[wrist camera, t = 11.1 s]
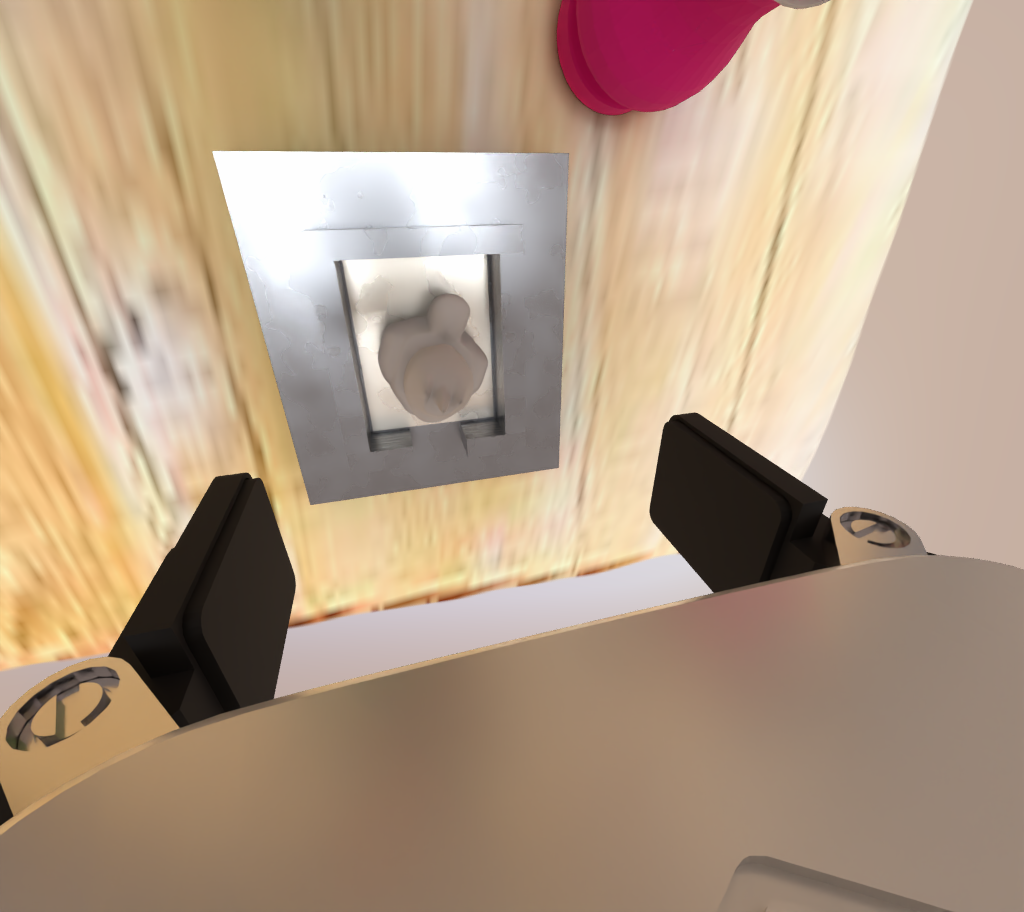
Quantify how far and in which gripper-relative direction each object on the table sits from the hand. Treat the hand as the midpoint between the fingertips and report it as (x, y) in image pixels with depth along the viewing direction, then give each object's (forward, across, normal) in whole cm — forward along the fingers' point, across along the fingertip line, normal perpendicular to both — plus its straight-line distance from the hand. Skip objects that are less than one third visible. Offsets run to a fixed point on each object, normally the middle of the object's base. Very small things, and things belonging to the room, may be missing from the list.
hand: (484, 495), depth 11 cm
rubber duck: (+17, 0, +1) cm, 17 cm away
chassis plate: (+18, 0, +1) cm, 19 cm away
